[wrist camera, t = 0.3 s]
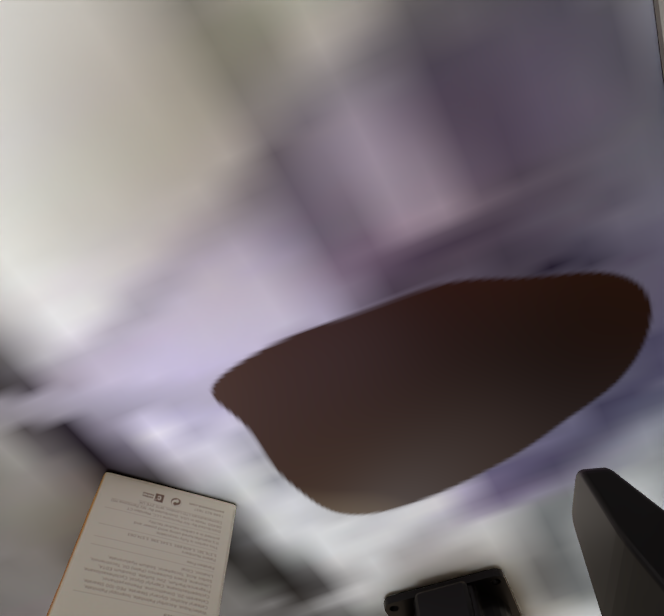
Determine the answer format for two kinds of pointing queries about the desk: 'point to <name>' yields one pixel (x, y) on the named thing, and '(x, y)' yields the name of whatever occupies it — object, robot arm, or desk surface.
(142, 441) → the desk surface
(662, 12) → the grey flat square plate
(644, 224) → the desk surface
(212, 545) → the small box
